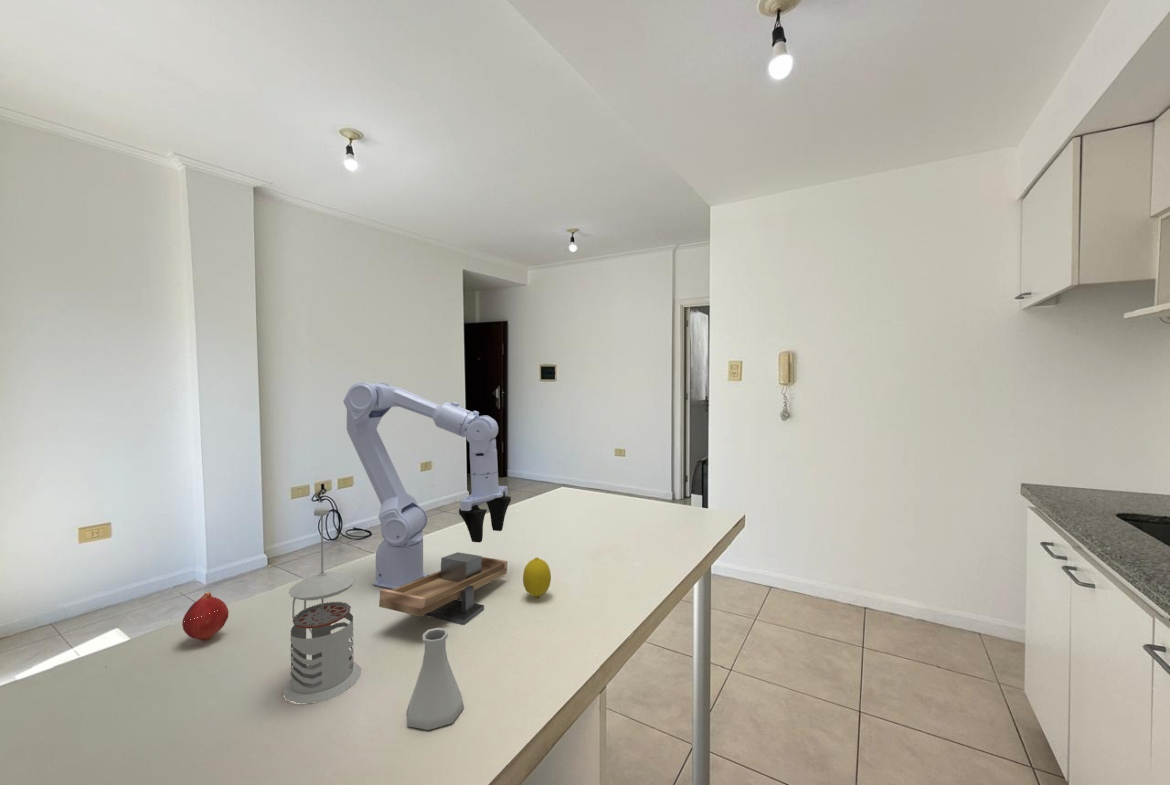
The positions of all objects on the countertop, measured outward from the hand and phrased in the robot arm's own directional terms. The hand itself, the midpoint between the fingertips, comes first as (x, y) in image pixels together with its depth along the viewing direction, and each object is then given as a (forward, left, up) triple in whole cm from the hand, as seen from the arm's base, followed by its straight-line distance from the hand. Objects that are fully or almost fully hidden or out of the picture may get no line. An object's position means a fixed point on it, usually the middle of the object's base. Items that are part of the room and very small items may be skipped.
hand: (487, 535), depth 97 cm
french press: (-4, -36, -11) cm, 38 cm away
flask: (+16, -35, -11) cm, 40 cm away
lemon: (+13, -2, -10) cm, 17 cm away
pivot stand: (-1, -13, -10) cm, 17 cm away
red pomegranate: (-31, -36, -10) cm, 49 cm away
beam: (-1, -11, -8) cm, 13 cm away
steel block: (-1, -8, -6) cm, 10 cm away
